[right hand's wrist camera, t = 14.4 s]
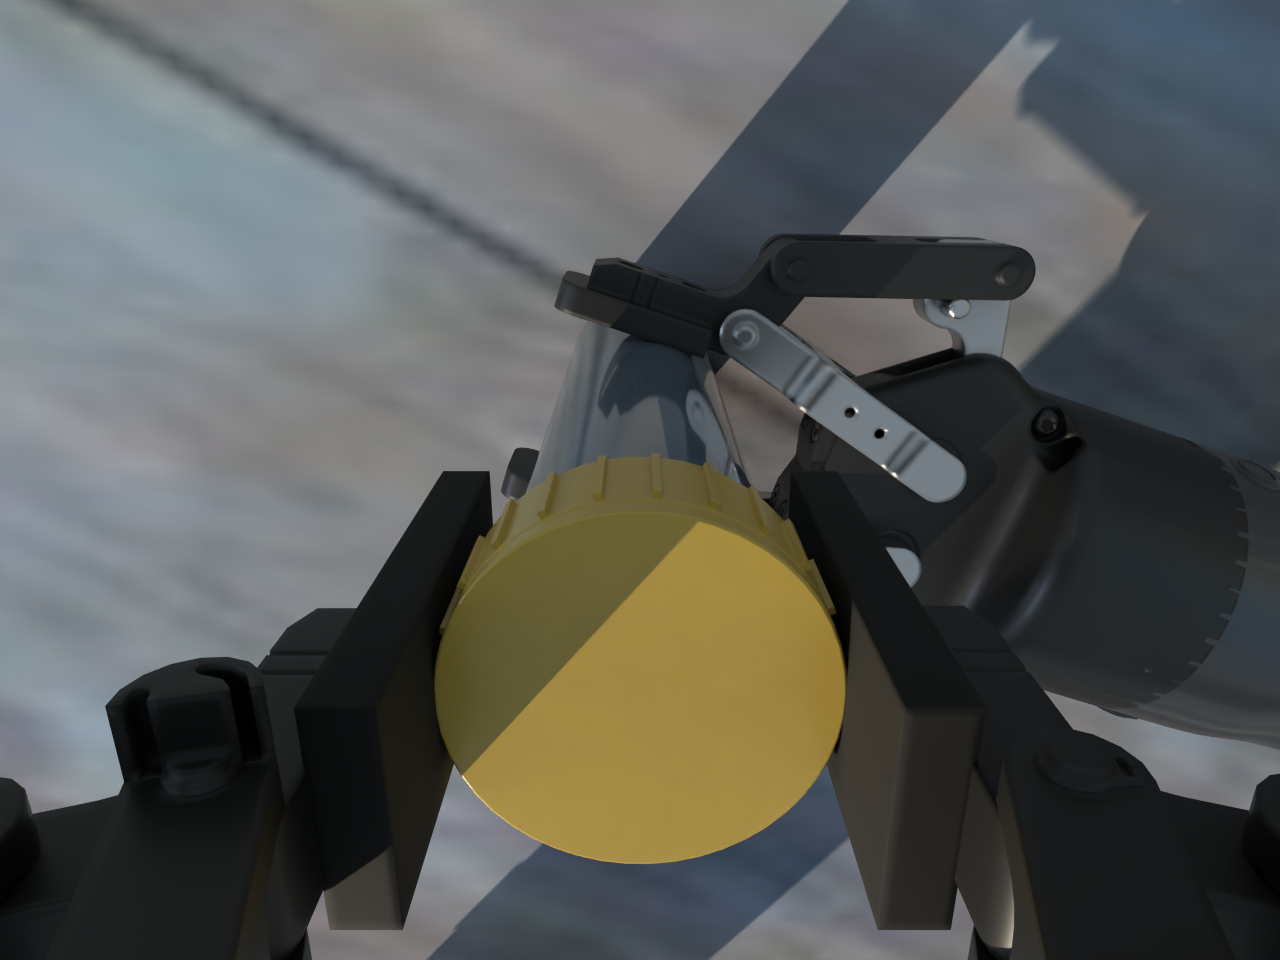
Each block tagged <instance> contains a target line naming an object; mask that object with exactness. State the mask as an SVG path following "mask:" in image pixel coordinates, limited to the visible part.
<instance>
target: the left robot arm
mask: <svg viewBox="0 0 1280 960" xmlns="http://www.w3.org/2000/svg"><path fill="white" fill-rule="evenodd" d="M1034 277H1035V263H1034V260H1033V258H1032V256H1031V255H1030V254H1029V253H1028V252H1027V251H1026V250H1024V249H1022V248H1019V247H1016V246H1011V245H1008V244H1004V243H1000V242H995V241H991V240H985V239H981V238H975V237H926V236H876V235H826V234H778V235H775V236H773V237H771V238H769V239H768V240H767V241H766V242H765V243H764V244H763V246H762V248H761V250H760V253H759V258H758V259H757V260H756V261H755V263H754V264H753V265H752V266H751V267H750V269H749V270H748V271H747V272H746V274H745V275H744V276H743V277H742V278H741V279H740V280H739V281H738V282H737V283H736V284H734V285H732V286H730V287H728V288H725V289H717V290H716V289H709V288H706V287H703V286H700V285H697V284H694V283H691V282H688V281H685V280H682V279H679V278H676V277H673V276H670V275H668V274H665V273H662V272H659V271H655V270H653V269H650V268H647V267H644V266H640V265H638V264H635V263H632V262H629V261H626V260H623V259H620V258H606V259H596V261H595V263H594V266H593V269H592V272H591V275H590V276H588V275H585V274H581V273H578V272H573V271H567V272H566V273H565V275H564V277H563V279H562V282H561V285H560V289H559V292H558V296H557V299H556V302H555V307H556V308H557V309H559V310H560V311H562V312H565V313H567V314H570V315H573V316H576V317H579V318H582V319H585V320H588V321H591V322H594V323H597V324H600V325H603V326H606V327H609V328H612V329H615V330H618V331H621V332H624V333H627V334H630V335H633V336H636V337H639V338H642V339H645V340H648V341H651V342H654V343H657V344H661V345H665V346H668V347H671V348H673V349H676V350H679V351H682V352H685V353H688V354H691V355H694V356H697V357H700V358H703V359H704V356H705V354H706V351H707V349H709V350H712V351H715V352H718V353H721V354H724V355H727V356H730V357H731V358H733V359H734V360H735V361H737V362H738V363H740V364H741V365H743V366H744V367H745V368H747V369H748V370H750V371H751V372H752V373H754V374H755V375H757V376H758V377H760V378H761V379H762V380H764V381H765V382H767V383H768V384H769V385H771V386H772V387H774V388H775V389H777V390H778V391H779V392H781V393H782V394H783V395H785V396H786V397H787V398H788V399H789V400H790V401H792V402H793V403H794V404H795V405H796V406H797V407H798V408H800V409H801V410H802V411H803V412H805V414H804V416H803V419H802V421H801V424H800V427H799V435H798V443H797V451H796V455H795V456H794V458H793V459H792V460H791V462H790V463H789V464H788V466H787V467H786V468H785V470H784V471H783V472H782V474H781V475H780V476H779V478H778V480H777V482H776V484H775V487H774V489H773V492H759V495H760V498H761V499H762V500H764V501H765V502H766V503H767V504H768V505H769V506H770V507H771V508H772V509H773V510H774V511H775V512H776V513H777V514H778V515H779V516H780V517H781V518H782V519H783V521H786V520H787V519H788V512H789V496H790V480H791V471H837V472H838V473H839V475H840V477H841V478H842V480H843V481H844V483H845V484H846V486H847V488H848V489H849V491H850V492H851V494H852V496H853V497H854V499H855V500H856V502H857V503H858V505H859V507H860V508H861V510H862V511H863V513H864V515H865V516H866V518H867V519H868V521H869V522H870V524H871V526H872V527H873V529H874V530H875V532H876V534H877V535H878V537H879V538H880V540H881V541H882V543H883V545H884V546H885V548H886V549H887V551H888V552H889V554H890V556H891V557H892V559H893V560H894V562H895V564H896V565H897V567H898V568H899V570H900V571H901V573H902V575H903V576H904V578H905V579H906V581H907V583H908V584H909V586H910V587H911V589H912V590H913V592H914V594H915V595H916V597H917V598H918V600H919V602H920V603H921V605H922V606H965V607H966V608H968V609H969V610H971V611H973V612H974V613H976V614H977V615H979V616H980V617H982V618H983V619H985V620H987V621H988V622H990V623H991V624H993V625H994V626H995V627H996V629H997V630H998V631H999V633H1000V634H1001V635H1002V637H1003V638H1004V639H1005V641H1006V642H1007V643H1008V645H1009V646H1010V647H1011V652H1012V653H1015V654H1016V655H1017V656H1018V658H1019V659H1020V660H1021V662H1022V663H1023V664H1024V666H1025V667H1026V668H1025V669H1026V672H1030V673H1031V675H1032V676H1033V677H1034V679H1035V680H1036V681H1037V683H1038V684H1039V685H1040V687H1041V688H1042V689H1043V690H1045V691H1049V692H1052V693H1055V694H1058V695H1062V696H1065V697H1068V698H1072V699H1075V700H1078V701H1082V702H1085V703H1089V704H1092V705H1095V706H1097V707H1099V708H1101V709H1102V710H1104V711H1107V712H1109V713H1111V714H1114V715H1116V716H1119V717H1123V718H1131V719H1138V718H1139V719H1142V720H1146V721H1149V722H1153V723H1156V724H1159V725H1162V726H1166V727H1170V728H1173V729H1177V730H1181V731H1185V732H1189V733H1193V734H1198V735H1204V736H1210V737H1217V738H1225V739H1233V740H1239V741H1245V742H1251V743H1255V744H1258V745H1261V746H1265V747H1268V748H1271V749H1275V750H1278V751H1280V472H1278V471H1275V470H1273V469H1270V468H1268V467H1265V466H1262V465H1259V464H1257V463H1255V462H1253V461H1250V460H1247V459H1241V458H1238V457H1235V456H1232V455H1229V454H1226V453H1223V452H1220V451H1217V450H1214V449H1211V448H1208V447H1205V446H1202V445H1199V444H1196V443H1193V442H1191V441H1188V440H1185V439H1182V438H1179V437H1176V436H1174V435H1171V434H1168V433H1165V432H1162V431H1159V430H1156V429H1153V428H1150V427H1147V426H1144V425H1141V424H1138V423H1135V422H1132V421H1129V420H1126V419H1124V418H1121V417H1118V416H1115V415H1112V414H1109V413H1106V412H1103V411H1100V410H1097V409H1094V408H1091V407H1088V406H1085V405H1082V404H1079V403H1076V402H1073V401H1071V400H1068V399H1065V398H1062V397H1059V396H1056V395H1053V394H1050V393H1047V392H1044V391H1041V390H1038V389H1036V388H1034V387H1031V386H1030V385H1029V384H1028V383H1027V382H1026V381H1025V380H1024V379H1023V377H1022V376H1021V375H1020V373H1019V372H1018V370H1017V369H1016V368H1015V367H1014V366H1013V365H1012V364H1011V363H1009V362H1008V361H1007V360H1005V359H1003V358H1002V354H1003V348H1004V342H1005V336H1006V330H1007V324H1008V318H1009V312H1010V306H1011V300H1012V299H1015V298H1017V297H1019V296H1021V295H1022V294H1024V293H1025V292H1026V291H1027V290H1028V289H1029V287H1030V286H1031V284H1032V282H1033V280H1034ZM804 297H845V298H896V299H913V304H914V308H915V310H916V312H917V314H918V315H919V316H920V317H921V318H923V319H924V320H926V321H928V322H930V323H931V324H933V325H935V326H937V327H939V328H944V329H947V330H948V331H949V332H950V334H951V336H952V341H953V347H952V348H949V349H946V350H942V351H939V352H936V353H933V354H929V355H926V356H923V357H919V358H916V359H913V360H909V361H906V362H903V363H900V364H896V365H893V366H890V367H886V368H883V369H880V370H876V371H873V372H870V373H866V374H863V375H860V376H856V375H855V374H854V373H852V372H851V371H850V370H848V369H847V368H845V367H844V366H843V365H841V364H840V363H839V362H837V361H836V360H834V359H833V358H832V357H830V356H829V355H828V354H826V353H825V352H823V351H822V350H821V349H819V348H818V347H817V346H815V345H814V344H812V343H811V342H810V341H808V340H807V339H805V338H804V337H802V336H800V335H798V334H797V333H796V332H794V331H793V330H791V329H790V328H789V327H787V326H786V325H785V324H783V322H784V321H785V320H786V318H787V317H788V316H789V315H790V314H791V312H792V311H793V310H794V309H795V308H796V307H797V305H798V304H799V303H800V302H801V301H802V299H803V298H804ZM538 454H539V451H537V450H534V449H530V448H517V449H515V451H514V453H513V455H512V458H511V460H510V462H509V465H508V468H507V471H506V475H505V478H504V481H503V485H502V488H501V492H502V494H503V495H504V496H506V497H507V498H509V499H513V500H514V501H517V500H518V499H519V498H521V497H522V496H523V495H525V492H526V489H527V486H528V483H529V480H530V477H531V474H532V471H533V468H534V466H535V463H536V460H537V457H538Z"/></svg>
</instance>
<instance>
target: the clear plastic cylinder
mask: <svg viewBox="0 0 1280 960" xmlns="http://www.w3.org/2000/svg"><path fill="white" fill-rule="evenodd" d="M652 453H660V458H666V459H674V460H680V461H684V462H688V463H692V464H695V465H699V466H703V465H704V463H708V464H711V465H712V468H713V471H715V472H718V473H720V474H723V475H725V476H727V477H729V478H731V479H732V480H734V481H736V482H738V483H739V484H741V485H743V486H745V487H747V488H748V489H749V487H750V486H751V485H752V482H751V479H750V476H749V473H748V470H747V467H746V464H745V461H744V459H743V456H742V453H741V450H740V447H739V444H738V441H737V438H736V436H735V433H734V430H733V427H732V424H731V421H730V418H729V415H728V412H727V410H726V407H725V404H724V401H723V398H722V395H721V392H720V389H719V387H718V384H717V381H716V378H715V375H714V372H713V369H712V366H711V364H710V361H709V358H708V355H707V352H706V354H705V356H704V359H703V358H700V357H697V356H694V355H691V354H688V353H685V352H682V351H679V350H676V349H673V348H671V347H668V346H665V345H661V344H657V343H654V342H651V341H648V340H645V339H642V338H639V337H636V336H633V335H630V334H627V333H624V332H621V331H618V330H615V329H612V328H609V327H606V326H603V325H600V324H597V323H594V322H591V321H588V323H587V324H586V325H585V327H584V328H583V330H582V332H581V334H580V336H579V338H578V341H577V344H576V347H575V350H574V352H573V355H572V358H571V361H570V364H569V367H568V370H567V373H566V376H565V379H564V381H563V384H562V387H561V390H560V393H559V396H558V399H557V402H556V405H555V408H554V410H553V413H552V416H551V419H550V422H549V425H548V428H547V431H546V434H545V437H544V439H543V442H542V445H541V448H540V451H539V454H538V457H537V460H536V463H535V466H534V468H533V471H532V474H531V477H530V480H529V483H528V486H527V489H526V492H525V494H526V493H528V492H529V491H530V490H532V489H533V488H535V487H536V486H537V485H539V484H541V483H543V482H545V481H546V480H547V476H548V474H549V473H551V472H553V471H556V473H557V475H558V474H560V473H563V472H565V471H568V470H570V469H573V468H576V467H578V466H581V465H585V464H589V463H593V462H597V460H598V457H599V456H604V455H606V458H607V459H614V458H623V457H651V454H652ZM752 486H753V485H752Z"/></svg>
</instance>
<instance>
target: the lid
mask: <svg viewBox="0 0 1280 960" xmlns="http://www.w3.org/2000/svg"><path fill="white" fill-rule="evenodd" d="M836 613H837V612H836V610H835V607H834V605H833V602H832V600H831V598H830V596H829V593H828V591H827V589H826V586H825V584H824V582H823V579H822V577H821V575H820V573H819V570H818V568H817V566H816V563H815V561H814V559H811V560H808V558H807V556H806V553H805V551H804V549H803V546H802V544H801V541H800V539H799V537H798V534H797V532H796V530H795V527H794V525H793V523H792V522H791V520H790V519H787V520H786V521H783V519H782V518H781V517H780V516H779V515H778V514H777V513H776V512H775V511H774V510H773V509H772V508H771V507H770V506H769V505H768V504H767V503H766V502H765V501H764V500H762V499H761V498H760V495H759V492H758V490H757V489H756V488H755V487H754V486H752V485H751V486H750V487H749V489H748V488H747V487H745V486H743V485H741V484H739V483H738V482H736V481H734V480H732V479H731V478H729V477H727V476H725V475H723V474H720V473H718V472H715V471H713V468H712V465H711V464H708V463H704V465H703V466H699V465H695V464H692V463H688V462H684V461H680V460H674V459H666V458H660V453H652V454H651V457H623V458H614V459H607V458H606V455H604V456H599V457H598V460H597V462H593V463H589V464H585V465H581V466H578V467H576V468H573V469H570V470H568V471H565V472H563V473H560V474H558V475H557V473H556V471H553V472H551V473H549V474H548V476H547V480H546V481H545V482H543V483H541V484H539V485H537V486H536V487H535V488H533V489H532V490H530V491H529V492H528V493H526V494H525V495H523V496H522V497H521V498H519V499H518V500H517V501H516V502H515V501H514V500H513V499H510V500H509V501H508V502H507V503H506V506H505V508H504V511H503V513H502V515H501V517H500V518H499V519H498V520H497V522H496V523H495V524H494V526H493V527H492V528H491V529H490V531H489V532H488V533H487V535H486V537H485V538H484V537H482V536H479V537H478V539H477V540H476V542H475V545H474V547H473V549H472V552H471V554H470V556H469V559H468V561H467V563H466V566H465V568H464V570H463V573H462V575H461V577H460V580H459V582H458V584H457V588H456V590H455V592H454V595H453V597H452V599H451V602H450V604H449V606H448V609H447V611H446V613H445V616H444V618H443V620H442V623H441V625H440V628H439V634H440V635H442V638H441V640H440V644H439V648H438V653H437V657H436V661H435V670H434V692H435V702H436V713H437V720H438V724H439V729H440V733H441V735H442V738H443V740H444V743H445V745H446V748H447V750H448V753H449V755H450V757H451V759H452V761H453V762H454V764H455V766H456V768H457V769H458V771H459V773H460V774H461V776H462V777H463V779H464V780H465V781H466V782H467V784H468V785H469V786H470V788H471V789H472V790H473V792H474V793H475V794H476V795H477V796H478V797H479V798H480V799H481V800H482V801H483V802H484V803H485V804H486V805H487V806H488V807H489V808H490V809H491V810H492V811H493V812H495V813H496V814H497V815H498V816H500V817H501V818H502V819H504V820H505V821H506V822H507V823H509V824H510V825H512V826H513V827H515V828H516V829H518V830H520V831H521V832H523V833H525V834H526V835H528V836H530V837H531V838H534V839H536V840H538V841H540V842H542V843H544V844H547V845H549V846H551V847H553V848H556V849H559V850H562V851H565V852H568V853H571V854H574V855H577V856H582V857H586V858H591V859H595V860H600V861H608V862H616V863H625V864H653V863H664V862H675V861H680V860H685V859H690V858H695V857H700V856H703V855H706V854H709V853H713V852H716V851H719V850H722V849H725V848H727V847H729V846H732V845H734V844H736V843H739V842H741V841H743V840H745V839H747V838H749V837H751V836H752V835H754V834H756V833H758V832H759V831H761V830H763V829H765V828H766V827H768V826H769V825H770V824H772V823H773V822H774V821H776V820H777V819H778V818H780V817H781V816H782V815H784V814H785V813H786V812H787V811H788V810H789V809H790V808H792V807H793V806H794V805H795V804H796V803H797V802H798V801H799V800H800V799H801V798H802V797H803V796H804V795H805V793H806V792H807V791H808V790H809V788H810V787H811V786H812V785H813V784H814V782H815V781H816V780H817V779H818V777H819V775H820V774H821V772H822V770H823V769H824V767H825V765H826V764H827V762H828V761H829V759H830V757H831V754H832V752H833V750H834V747H835V745H836V743H837V740H838V738H839V735H840V731H841V727H842V723H843V718H844V708H845V698H846V686H847V668H846V663H845V658H844V653H843V648H842V644H841V641H840V639H839V636H838V633H837V630H836V628H835V625H834V622H833V620H832V617H831V615H834V614H836Z"/></svg>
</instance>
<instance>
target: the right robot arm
mask: <svg viewBox="0 0 1280 960" xmlns="http://www.w3.org/2000/svg"><path fill="white" fill-rule="evenodd" d="M788 519H790V520H791V522H792V523H793V525H794V527H795V530H796V532H797V534H798V537H799V539H800V541H801V544H802V546H803V549H804V551H805V553H806V556H807V558H808V560H811V559H814V561H815V563H816V566H817V568H818V570H819V573H820V575H821V577H822V579H823V582H824V584H825V586H826V589H827V591H828V593H829V596H830V598H831V600H832V602H833V605H834V607H835V610H836V612H837V613H836V614H834V615H831V617H832V620H833V622H834V625H835V628H836V630H837V633H838V636H839V639H840V641H841V644H842V648H843V653H844V658H845V663H846V668H847V686H846V698H845V708H844V718H843V723H842V727H841V731H840V735H839V738H838V740H837V743H836V745H835V747H834V750H833V752H832V754H831V757H830V759H829V761H828V762H827V766H828V770H829V773H830V776H831V779H832V783H833V786H834V789H835V792H836V796H837V799H838V802H839V805H840V809H841V812H842V815H843V818H844V822H845V825H846V828H847V831H848V834H849V838H850V841H851V844H852V847H853V851H854V854H855V857H856V860H857V864H858V867H859V870H860V873H861V877H862V880H863V883H864V886H865V890H866V893H867V896H868V899H869V903H870V906H871V909H872V912H873V916H874V919H875V922H876V925H877V929H878V930H951V924H952V918H953V912H954V906H955V900H956V894H957V888H959V891H960V893H961V895H962V897H963V900H964V902H965V904H966V907H967V909H968V911H969V913H970V916H971V918H972V920H973V923H974V927H973V932H972V938H971V944H970V949H969V955H968V960H1280V774H1275V775H1270V776H1268V777H1267V778H1266V779H1265V780H1263V781H1262V782H1261V783H1259V784H1258V785H1257V787H1256V790H1255V793H1254V797H1253V800H1252V803H1251V807H1250V810H1244V809H1239V808H1234V807H1229V806H1224V805H1220V804H1215V803H1210V802H1205V801H1200V800H1195V799H1191V798H1186V797H1181V796H1178V795H1174V794H1170V793H1167V792H1163V791H1160V789H1159V787H1158V784H1157V782H1156V780H1155V779H1154V778H1153V776H1152V775H1151V774H1150V772H1149V771H1148V770H1147V768H1146V767H1145V766H1144V764H1143V763H1142V762H1141V761H1139V760H1138V759H1136V758H1135V757H1134V756H1132V755H1131V754H1130V753H1128V752H1127V751H1126V750H1124V749H1123V748H1121V747H1120V746H1118V745H1115V744H1113V743H1111V742H1109V741H1107V740H1104V739H1102V738H1100V737H1098V736H1095V735H1093V734H1089V733H1085V732H1081V731H1077V730H1073V729H1072V727H1071V726H1070V725H1069V724H1068V722H1067V721H1066V720H1065V718H1064V717H1063V716H1062V714H1061V713H1060V712H1059V710H1058V709H1057V708H1056V706H1055V705H1054V704H1053V702H1052V701H1051V700H1050V698H1049V697H1048V696H1047V695H1046V693H1045V692H1044V691H1043V689H1042V688H1041V687H1040V685H1039V684H1038V683H1037V681H1036V680H1035V679H1034V677H1033V676H1032V675H1031V673H1030V672H1026V669H1025V668H1026V667H1025V666H1024V664H1023V663H1022V662H1021V660H1020V659H1019V658H1018V656H1017V655H1016V654H1015V653H1012V652H1011V647H1010V646H1009V645H1008V643H1007V642H1006V641H1005V639H1004V638H1003V637H1002V635H1001V634H1000V633H999V631H998V630H997V629H996V627H995V626H994V625H993V624H991V623H990V622H988V621H987V620H985V619H983V618H982V617H980V616H979V615H977V614H976V613H974V612H973V611H971V610H969V609H968V608H966V607H965V606H922V605H921V603H920V602H919V600H918V598H917V597H916V595H915V594H914V592H913V590H912V589H911V587H910V586H909V584H908V583H907V581H906V579H905V578H904V576H903V575H902V573H901V571H900V570H899V568H898V567H897V565H896V564H895V562H894V560H893V559H892V557H891V556H890V554H889V552H888V551H887V549H886V548H885V546H884V545H883V543H882V541H881V540H880V538H879V537H878V535H877V534H876V532H875V530H874V529H873V527H872V526H871V524H870V522H869V521H868V519H867V518H866V516H865V515H864V513H863V511H862V510H861V508H860V507H859V505H858V503H857V502H856V500H855V499H854V497H853V496H852V494H851V492H850V491H849V489H848V488H847V486H846V484H845V483H844V481H843V480H842V478H841V477H840V475H839V473H838V472H837V471H791V480H790V496H789V512H788ZM492 527H493V519H492V503H491V488H490V472H489V471H443V473H442V474H441V476H440V477H439V479H438V481H437V482H436V484H435V485H434V487H433V488H432V490H431V492H430V493H429V495H428V496H427V498H426V500H425V501H424V503H423V504H422V506H421V507H420V509H419V511H418V512H417V514H416V515H415V517H414V519H413V520H412V522H411V523H410V525H409V526H408V528H407V530H406V531H405V533H404V534H403V536H402V538H401V539H400V541H399V542H398V544H397V545H396V547H395V549H394V550H393V552H392V553H391V555H390V557H389V558H388V560H387V561H386V563H385V564H384V566H383V568H382V569H381V571H380V572H379V574H378V576H377V577H376V579H375V580H374V582H373V583H372V585H371V587H370V588H369V590H368V591H367V593H366V595H365V596H364V598H363V599H362V601H361V602H360V604H359V606H358V607H357V608H317V609H316V610H314V611H313V612H311V613H310V614H308V615H307V616H305V617H303V618H302V619H300V620H299V621H297V622H296V623H294V624H293V625H291V626H290V627H288V628H287V629H286V630H285V632H284V633H283V634H282V636H281V637H280V638H279V640H278V641H277V642H276V644H275V645H274V646H273V648H272V649H271V650H270V655H266V657H265V658H264V659H263V661H262V662H261V663H260V665H259V666H258V667H255V666H254V665H253V664H252V663H250V662H248V661H244V660H239V659H235V658H230V657H211V658H198V659H193V660H188V661H184V662H179V663H174V664H170V665H168V666H165V667H163V668H160V669H158V670H155V671H152V672H150V673H147V674H145V675H143V676H141V677H139V678H138V679H136V680H135V681H133V682H131V683H130V684H128V685H127V686H125V687H123V688H122V689H120V690H119V691H118V692H117V694H116V695H115V696H114V697H113V698H112V699H111V700H110V701H109V703H108V704H107V705H106V706H105V707H106V711H107V715H108V719H109V723H110V727H111V731H112V735H113V739H114V743H115V747H116V751H117V755H118V759H119V763H120V767H121V771H122V775H123V779H124V784H123V786H122V788H121V790H120V793H119V795H117V796H113V797H110V798H106V799H102V800H98V801H94V802H89V803H84V804H79V805H74V806H70V807H65V808H60V809H55V810H50V811H46V812H41V813H36V814H32V811H31V808H30V804H29V801H28V798H27V794H26V791H25V789H24V788H23V787H21V786H20V785H19V784H18V783H16V782H15V781H14V780H13V779H8V778H1V777H0V960H312V957H311V950H310V944H309V938H308V932H307V926H308V924H309V921H310V919H311V917H312V915H313V912H314V910H315V908H316V905H317V903H318V901H319V898H320V896H321V894H322V892H323V890H324V897H325V903H326V909H327V915H328V921H329V927H330V930H403V927H404V924H405V921H406V917H407V914H408V911H409V908H410V904H411V901H412V898H413V895H414V891H415V888H416V885H417V882H418V878H419V875H420V872H421V869H422V865H423V862H424V859H425V856H426V852H427V849H428V846H429V843H430V839H431V836H432V833H433V830H434V826H435V823H436V820H437V817H438V813H439V810H440V807H441V804H442V801H443V797H444V794H445V791H446V788H447V784H448V781H449V778H450V775H451V771H452V768H453V765H454V762H453V761H452V759H451V757H450V755H449V753H448V750H447V748H446V745H445V743H444V740H443V738H442V735H441V733H440V729H439V724H438V720H437V713H436V702H435V692H434V670H435V661H436V657H437V653H438V648H439V644H440V640H441V638H442V635H440V634H439V628H440V625H441V623H442V620H443V618H444V616H445V613H446V611H447V609H448V606H449V604H450V602H451V599H452V597H453V595H454V592H455V590H456V588H457V584H458V582H459V580H460V577H461V575H462V573H463V570H464V568H465V566H466V563H467V561H468V559H469V556H470V554H471V552H472V549H473V547H474V545H475V542H476V540H477V539H478V537H479V536H482V537H484V538H485V537H486V535H487V533H488V532H489V531H490V529H491V528H492Z"/></svg>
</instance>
